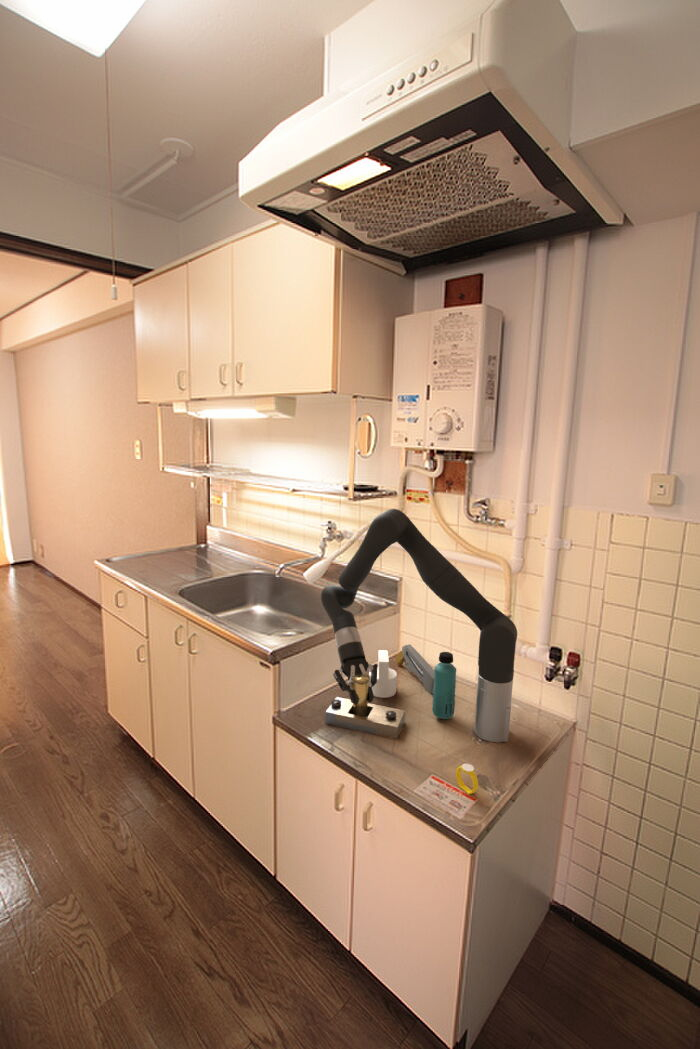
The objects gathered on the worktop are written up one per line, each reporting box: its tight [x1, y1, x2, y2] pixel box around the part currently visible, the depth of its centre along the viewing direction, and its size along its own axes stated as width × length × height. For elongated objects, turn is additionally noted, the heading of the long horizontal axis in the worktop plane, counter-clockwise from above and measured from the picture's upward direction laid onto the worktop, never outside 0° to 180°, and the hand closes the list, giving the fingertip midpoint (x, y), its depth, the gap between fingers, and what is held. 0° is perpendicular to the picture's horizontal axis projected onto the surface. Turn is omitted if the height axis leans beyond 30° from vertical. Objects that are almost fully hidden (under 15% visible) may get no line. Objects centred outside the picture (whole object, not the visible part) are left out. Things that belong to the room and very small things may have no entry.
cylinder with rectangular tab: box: [368, 649, 398, 698], centre depth 162 cm, size 9×9×12 cm
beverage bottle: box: [431, 651, 457, 720], centre depth 146 cm, size 6×7×20 cm
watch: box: [455, 763, 479, 795], centre depth 117 cm, size 6×3×6 cm, turn 31°
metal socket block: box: [324, 696, 406, 740], centre depth 143 cm, size 21×9×5 cm, turn 71°
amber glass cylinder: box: [353, 674, 370, 718], centre depth 143 cm, size 5×5×12 cm
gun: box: [395, 643, 435, 695], centre depth 170 cm, size 3×25×15 cm, turn 26°
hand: (363, 702), depth 141 cm, fingers closed on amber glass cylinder, 4 cm apart
